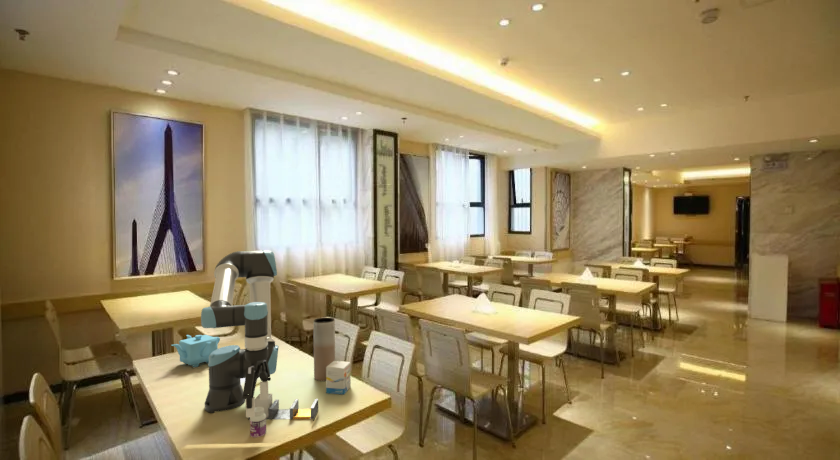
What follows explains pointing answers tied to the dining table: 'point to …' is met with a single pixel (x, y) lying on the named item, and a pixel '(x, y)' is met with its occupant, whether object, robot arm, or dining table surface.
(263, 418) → the pill bottle
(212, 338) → the teakettle
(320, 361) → the vase
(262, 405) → the filler block
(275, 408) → the rack
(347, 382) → the ink box
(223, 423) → the dining table surface
